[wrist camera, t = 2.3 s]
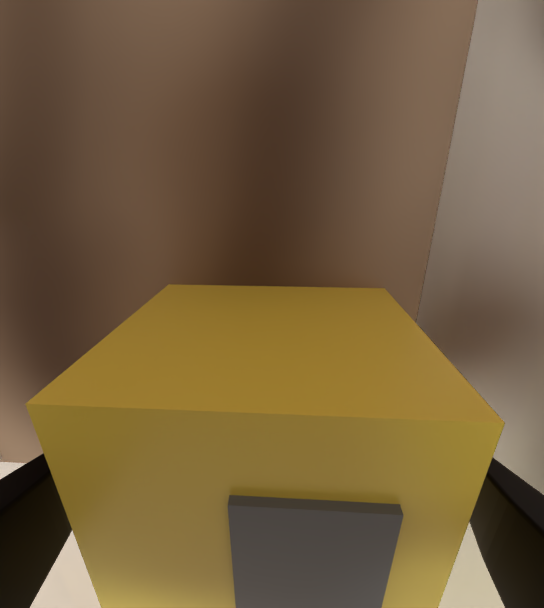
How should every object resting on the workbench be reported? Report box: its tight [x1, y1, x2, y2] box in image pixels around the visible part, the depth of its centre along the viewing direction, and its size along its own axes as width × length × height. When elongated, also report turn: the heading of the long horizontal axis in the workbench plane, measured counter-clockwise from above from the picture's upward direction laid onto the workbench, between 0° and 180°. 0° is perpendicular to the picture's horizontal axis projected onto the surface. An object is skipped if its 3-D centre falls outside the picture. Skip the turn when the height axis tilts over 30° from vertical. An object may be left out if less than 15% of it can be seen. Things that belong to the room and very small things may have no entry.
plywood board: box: [0, 0, 478, 463], centre depth 9 cm, size 20×16×1 cm
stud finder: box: [26, 284, 505, 608], centre depth 7 cm, size 6×7×5 cm
